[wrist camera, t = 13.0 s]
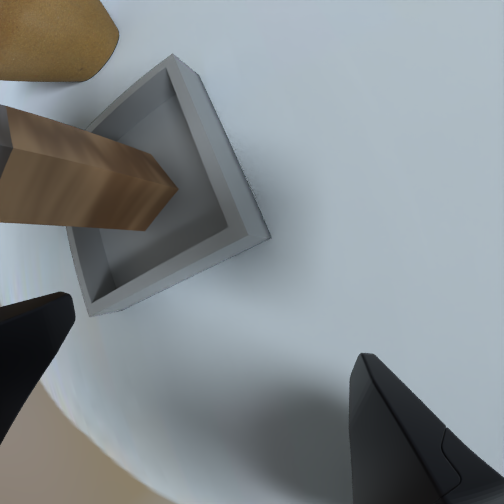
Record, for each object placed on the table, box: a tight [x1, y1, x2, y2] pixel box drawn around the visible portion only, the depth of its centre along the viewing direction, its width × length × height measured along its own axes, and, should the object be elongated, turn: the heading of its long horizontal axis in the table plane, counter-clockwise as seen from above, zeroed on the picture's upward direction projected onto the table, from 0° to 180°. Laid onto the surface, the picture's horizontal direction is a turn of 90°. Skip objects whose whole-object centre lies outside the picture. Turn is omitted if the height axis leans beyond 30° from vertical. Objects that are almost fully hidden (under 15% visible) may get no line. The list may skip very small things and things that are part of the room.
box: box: [66, 54, 271, 317], centre depth 20 cm, size 14×14×4 cm
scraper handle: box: [0, 104, 179, 231], centre depth 15 cm, size 4×4×13 cm
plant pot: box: [0, 0, 119, 82], centre depth 18 cm, size 15×15×16 cm
